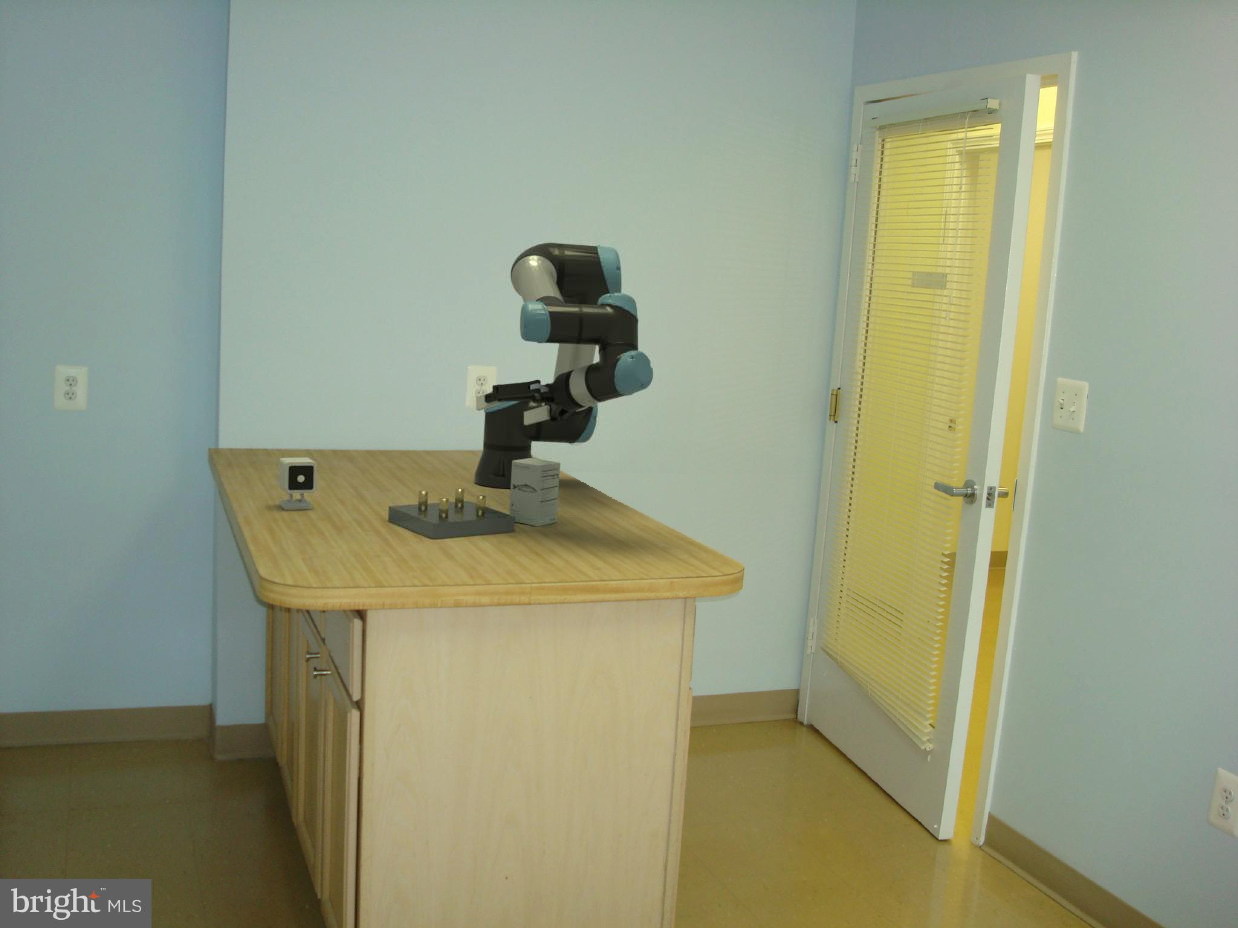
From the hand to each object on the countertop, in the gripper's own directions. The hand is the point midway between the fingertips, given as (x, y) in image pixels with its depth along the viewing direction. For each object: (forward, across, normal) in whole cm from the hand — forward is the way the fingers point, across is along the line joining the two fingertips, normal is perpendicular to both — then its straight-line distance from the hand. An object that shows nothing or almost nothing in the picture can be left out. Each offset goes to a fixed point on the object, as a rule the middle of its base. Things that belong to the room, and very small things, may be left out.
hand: (501, 411), depth 235 cm
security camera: (+37, -22, -18) cm, 47 cm away
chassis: (+7, -7, -24) cm, 26 cm away
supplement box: (+1, +10, -22) cm, 24 cm away
